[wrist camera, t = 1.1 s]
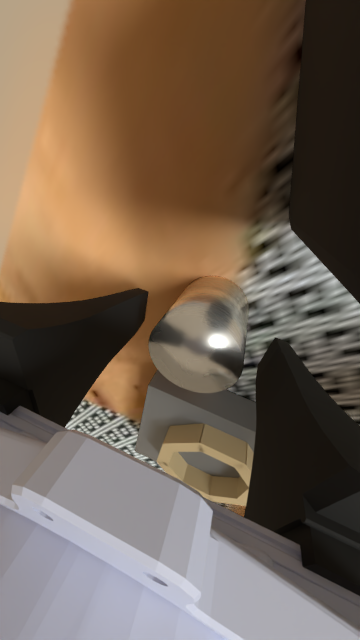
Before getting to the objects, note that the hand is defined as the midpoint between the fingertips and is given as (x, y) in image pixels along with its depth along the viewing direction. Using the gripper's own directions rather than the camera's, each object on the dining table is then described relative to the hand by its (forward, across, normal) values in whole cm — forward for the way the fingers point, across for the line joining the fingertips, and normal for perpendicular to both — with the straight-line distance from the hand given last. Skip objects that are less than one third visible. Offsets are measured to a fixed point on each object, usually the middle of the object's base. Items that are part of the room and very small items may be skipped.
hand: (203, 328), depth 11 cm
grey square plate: (+2, -4, +12) cm, 13 cm away
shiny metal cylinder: (+2, 0, 0) cm, 3 cm away
